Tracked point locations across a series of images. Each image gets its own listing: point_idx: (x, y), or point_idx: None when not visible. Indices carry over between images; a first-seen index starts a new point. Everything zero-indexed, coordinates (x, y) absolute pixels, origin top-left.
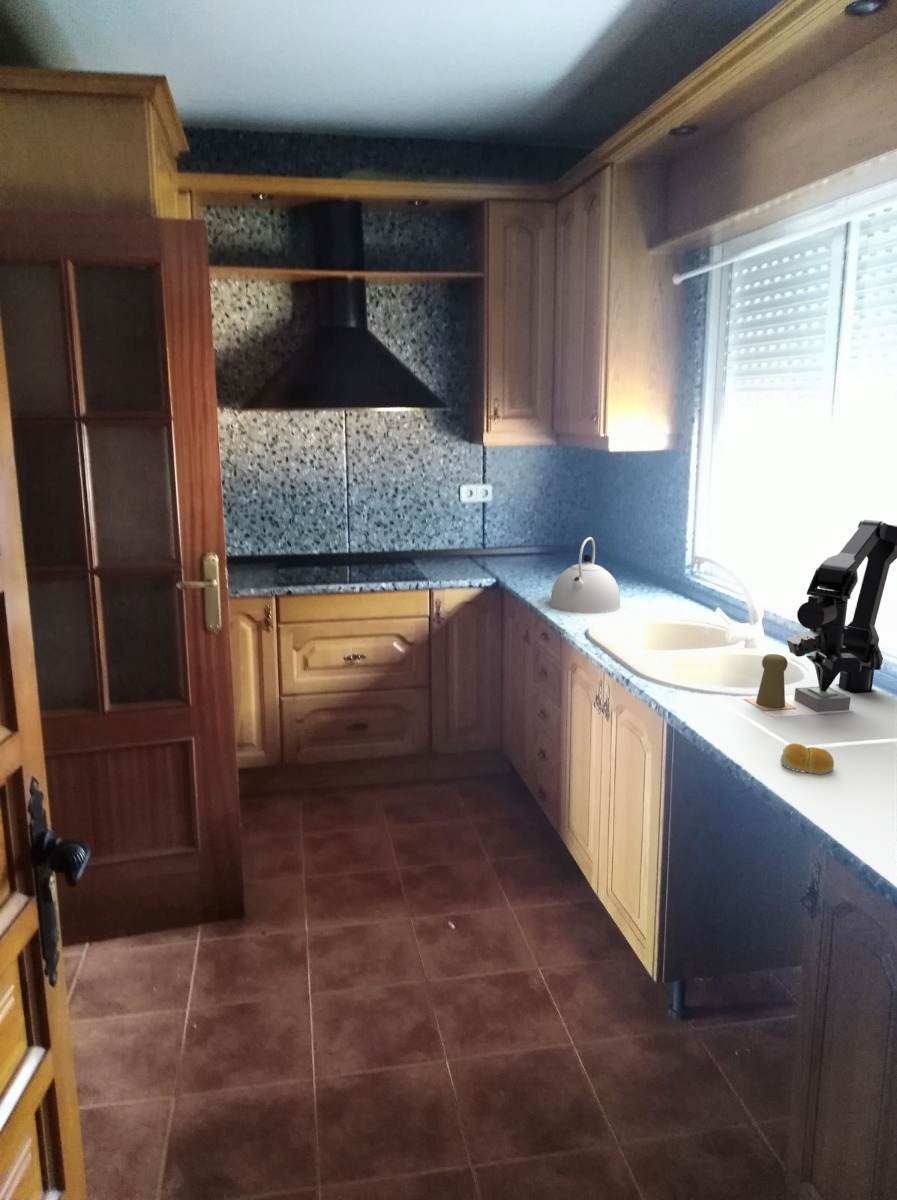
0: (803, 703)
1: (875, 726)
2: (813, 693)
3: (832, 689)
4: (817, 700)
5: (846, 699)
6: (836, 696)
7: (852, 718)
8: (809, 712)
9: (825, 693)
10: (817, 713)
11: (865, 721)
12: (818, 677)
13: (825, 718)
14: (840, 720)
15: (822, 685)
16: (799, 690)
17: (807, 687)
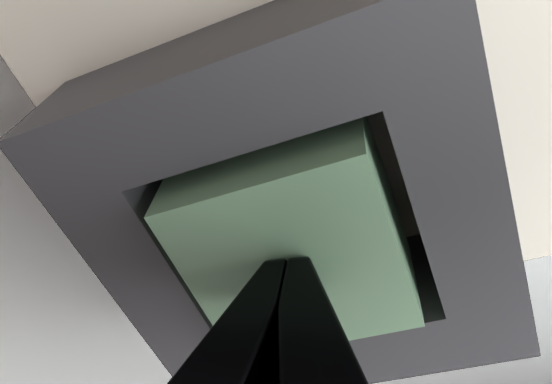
0: (260, 10)
1: (3, 356)
2: (269, 162)
3: (419, 363)
4: (10, 135)
5: None
6: (193, 333)
7: (102, 294)
8: (20, 7)
9: (192, 271)
10: (27, 80)
11: (73, 339)
12: (307, 366)
13: (14, 123)
14: (20, 215)
15: (229, 313)
16: (358, 7)
17: (493, 154)
